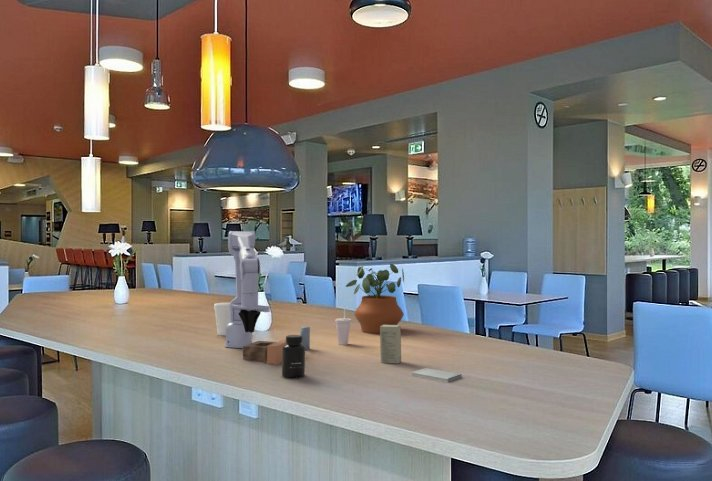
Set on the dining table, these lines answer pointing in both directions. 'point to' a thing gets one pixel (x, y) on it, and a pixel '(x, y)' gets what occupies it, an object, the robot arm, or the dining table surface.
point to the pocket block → (256, 351)
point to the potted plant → (377, 301)
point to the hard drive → (436, 375)
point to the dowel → (305, 337)
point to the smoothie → (343, 329)
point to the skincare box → (390, 343)
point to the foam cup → (222, 317)
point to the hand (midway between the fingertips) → (249, 332)
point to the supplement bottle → (293, 357)
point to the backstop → (275, 352)
